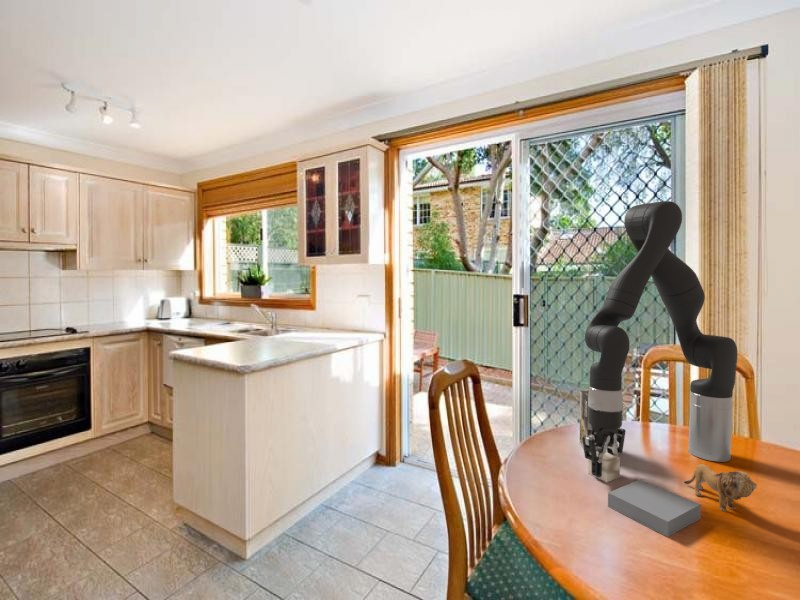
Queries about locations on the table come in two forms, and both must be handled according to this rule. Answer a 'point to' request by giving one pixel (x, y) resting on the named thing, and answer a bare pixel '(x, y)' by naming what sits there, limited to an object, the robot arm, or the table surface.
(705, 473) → the lion figurine
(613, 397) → the robot arm
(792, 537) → the table surface
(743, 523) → the table surface
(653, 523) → the base
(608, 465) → the wooden block
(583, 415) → the coffee box
